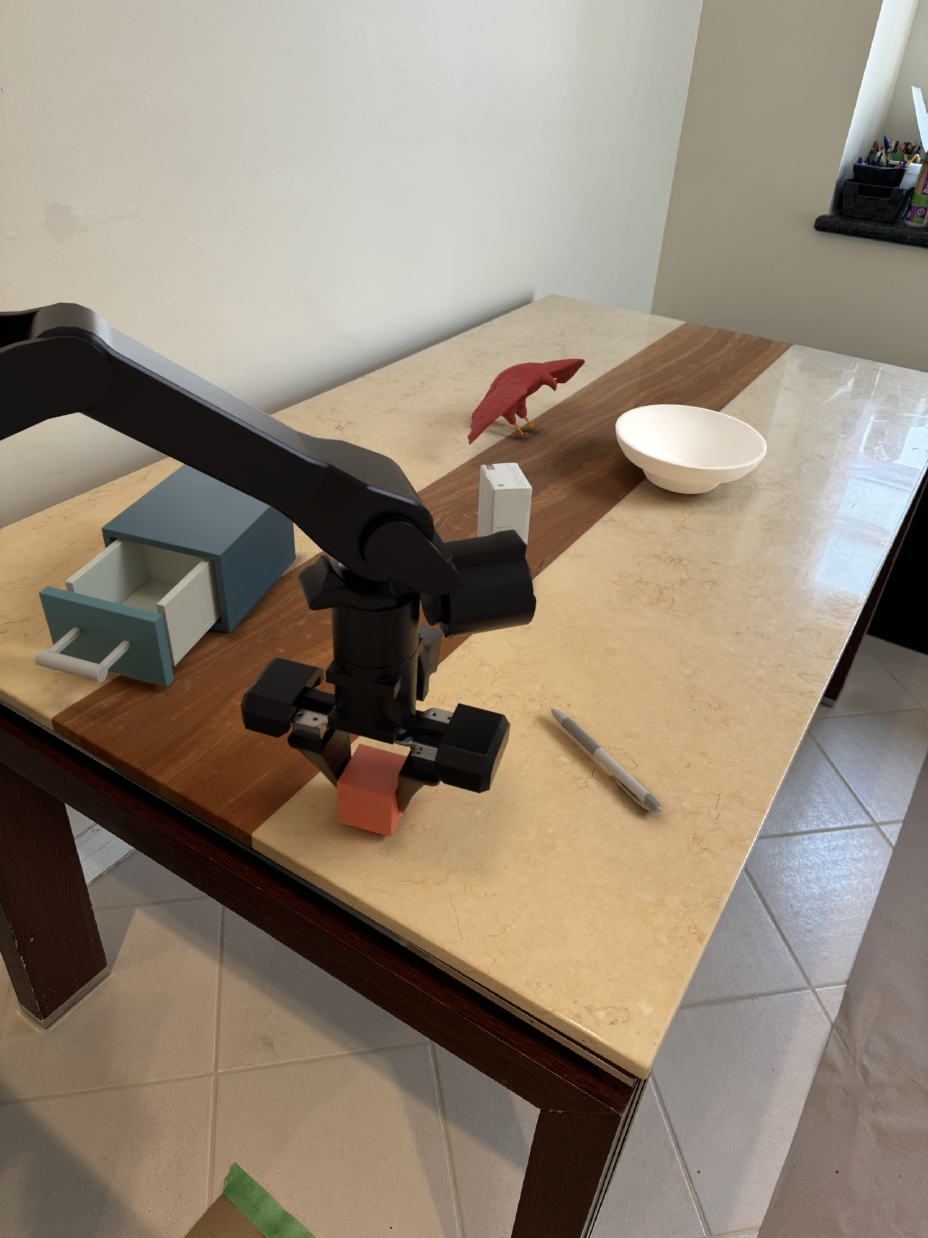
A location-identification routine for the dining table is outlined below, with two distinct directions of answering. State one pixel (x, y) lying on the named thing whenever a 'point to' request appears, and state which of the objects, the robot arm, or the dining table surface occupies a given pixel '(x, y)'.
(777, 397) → the dining table surface
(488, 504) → the cosmetic box
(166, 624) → the open handled drawer
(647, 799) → the pen
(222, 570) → the cabinet
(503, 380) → the decorative bird sculpture
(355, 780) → the terracotta rounded cube
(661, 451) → the bowl
